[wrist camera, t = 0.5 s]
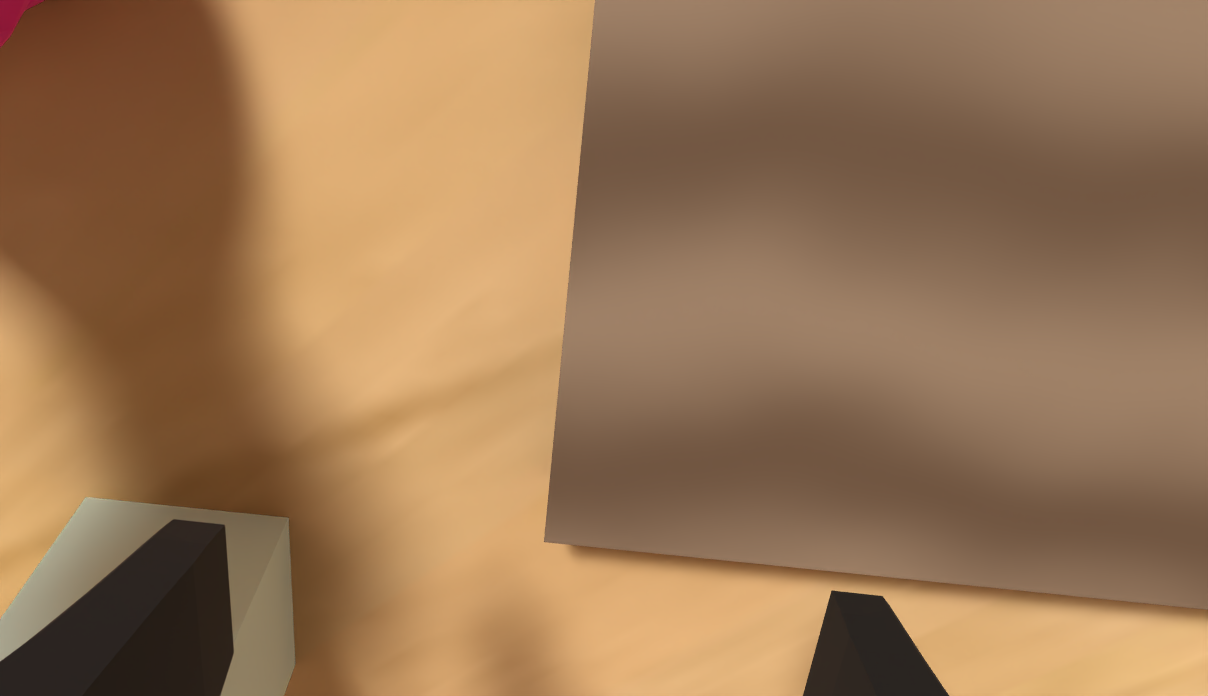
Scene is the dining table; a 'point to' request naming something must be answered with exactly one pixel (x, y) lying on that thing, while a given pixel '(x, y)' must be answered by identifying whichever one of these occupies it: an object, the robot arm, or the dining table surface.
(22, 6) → the pepper mill
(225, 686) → the sage block
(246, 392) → the dining table surface
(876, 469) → the walnut stand
